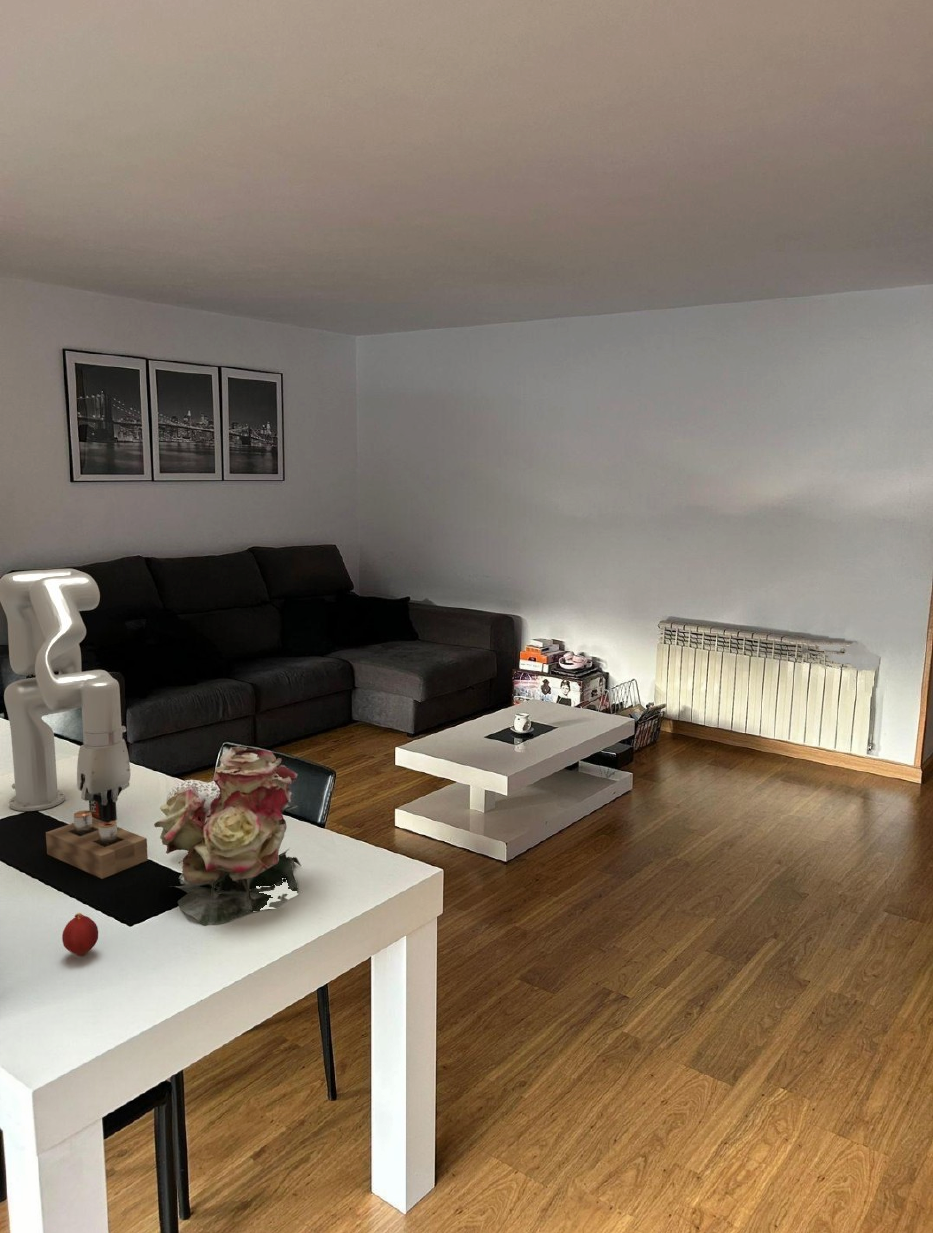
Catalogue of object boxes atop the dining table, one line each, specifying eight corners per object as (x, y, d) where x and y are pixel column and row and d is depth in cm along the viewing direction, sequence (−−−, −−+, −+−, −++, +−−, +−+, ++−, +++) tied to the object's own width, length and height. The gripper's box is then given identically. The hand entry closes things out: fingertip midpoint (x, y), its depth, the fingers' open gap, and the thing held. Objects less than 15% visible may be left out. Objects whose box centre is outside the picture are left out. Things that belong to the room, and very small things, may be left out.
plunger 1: (71, 834, 201) (70, 814, 200) (86, 829, 203) (85, 809, 203) (81, 838, 199) (79, 817, 198) (96, 833, 201) (94, 812, 201)
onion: (70, 946, 163) (67, 904, 162) (103, 945, 164) (101, 903, 162) (58, 964, 157) (55, 921, 156) (93, 963, 158) (90, 920, 156)
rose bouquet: (153, 879, 190) (147, 739, 184) (294, 856, 201) (291, 724, 196) (166, 938, 166) (159, 780, 161) (324, 909, 178) (322, 761, 173)
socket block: (47, 854, 200) (45, 832, 199) (92, 837, 209) (91, 816, 208) (102, 878, 189) (100, 855, 188) (147, 860, 198) (146, 838, 197)
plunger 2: (96, 845, 196) (94, 823, 195) (111, 839, 198) (109, 818, 198) (106, 849, 193) (105, 827, 193) (121, 843, 196) (120, 822, 196)
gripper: (123, 725, 200) (127, 805, 203) (59, 742, 188) (64, 827, 191) (144, 731, 196) (148, 813, 199) (80, 749, 184) (86, 835, 187)
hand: (107, 820), depth 195 cm, fingers closed
